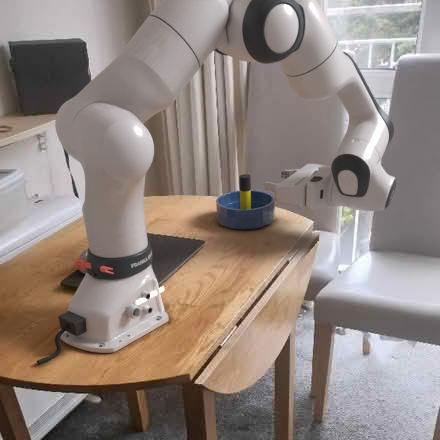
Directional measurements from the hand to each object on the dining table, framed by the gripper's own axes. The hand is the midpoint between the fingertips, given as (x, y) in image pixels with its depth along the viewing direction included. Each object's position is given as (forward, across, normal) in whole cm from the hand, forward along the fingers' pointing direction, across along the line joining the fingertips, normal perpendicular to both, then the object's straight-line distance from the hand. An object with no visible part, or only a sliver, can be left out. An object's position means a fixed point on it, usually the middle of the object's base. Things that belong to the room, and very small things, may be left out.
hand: (274, 179), depth 146 cm
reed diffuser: (+28, +36, +12) cm, 47 cm away
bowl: (+8, 0, +12) cm, 14 cm away
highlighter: (+8, 0, +11) cm, 14 cm away
